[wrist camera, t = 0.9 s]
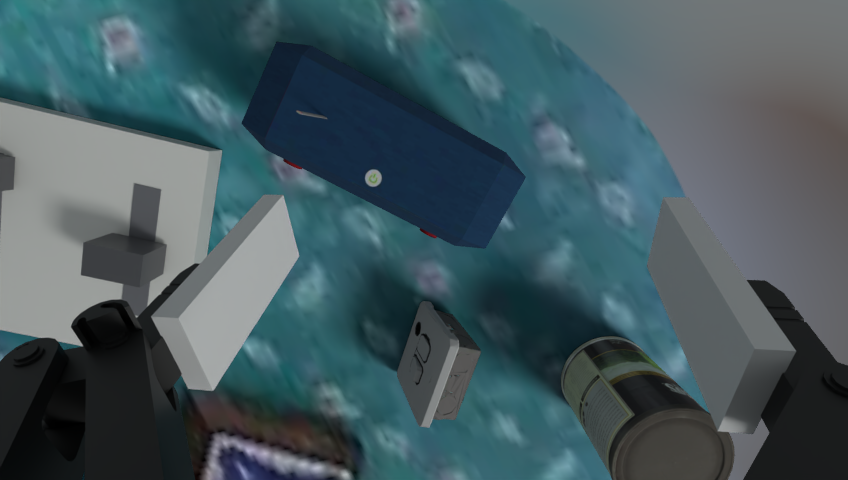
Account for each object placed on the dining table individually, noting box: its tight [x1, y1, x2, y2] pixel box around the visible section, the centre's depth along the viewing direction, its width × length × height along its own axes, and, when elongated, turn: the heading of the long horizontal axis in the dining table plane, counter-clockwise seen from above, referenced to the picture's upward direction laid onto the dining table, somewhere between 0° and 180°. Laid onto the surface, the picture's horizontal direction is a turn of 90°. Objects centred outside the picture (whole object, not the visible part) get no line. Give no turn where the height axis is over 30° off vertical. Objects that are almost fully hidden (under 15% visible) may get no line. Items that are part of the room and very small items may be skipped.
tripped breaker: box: [81, 233, 167, 288], centre depth 42 cm, size 3×5×4 cm, turn 76°
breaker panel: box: [0, 97, 222, 346], centre depth 45 cm, size 22×24×3 cm
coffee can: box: [561, 336, 734, 480], centre depth 45 cm, size 10×10×14 cm
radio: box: [242, 42, 526, 248], centre depth 36 cm, size 21×9×20 cm, turn 62°
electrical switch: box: [397, 301, 481, 428], centre depth 46 cm, size 9×5×9 cm, turn 162°
